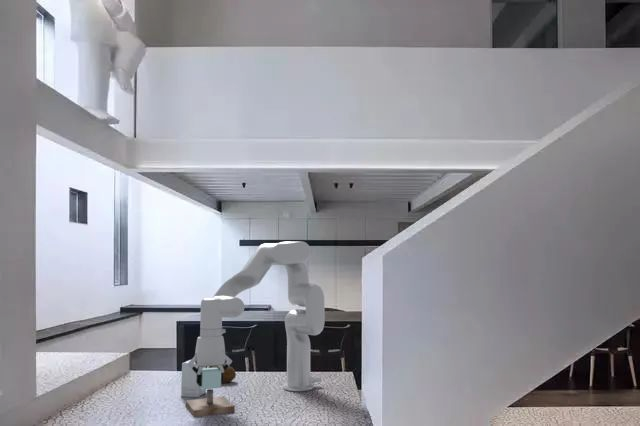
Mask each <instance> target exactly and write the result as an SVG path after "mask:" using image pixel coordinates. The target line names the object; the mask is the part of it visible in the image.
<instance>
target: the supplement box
mask: <svg viewBox="0 0 640 426" xmlns="http://www.w3.org/2000/svg"><path fill="white" fill-rule="evenodd" d="M190 360H191V359H189V360H186V361H185V362H182V363H181V385H180V386H181V387H180V388H181V389H180V390H181V391H180V396H181V397H186V398H187V397H190V398H200V397H201V396H202V395H204V394H207V389H202V388H201V387H200V386H199V385H198V384H197V382H196V380H197V373H196V372H194V371H193V370H192V369H191V368H190V367H189V366H188V363H189V361H190ZM193 365H194V366H195V367H196V368H197V367H198V365H197V364H195V362H194V364H193ZM204 368H207V366H205V367H203V369H204Z"/></svg>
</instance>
